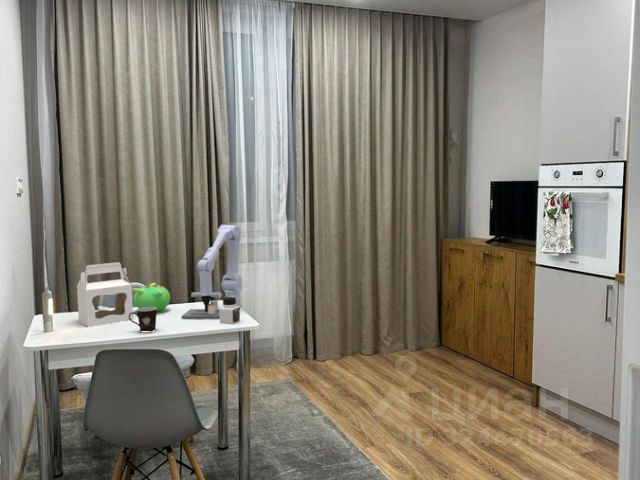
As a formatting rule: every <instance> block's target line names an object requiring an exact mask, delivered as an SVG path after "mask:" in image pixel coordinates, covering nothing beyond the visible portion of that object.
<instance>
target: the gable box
mask: <svg viewBox="0 0 640 480" xmlns="http://www.w3.org/2000/svg"><path fill="white" fill-rule="evenodd" d="M84 270H85V271H82V272H80V277H79V281H78V284H77V285H76V293H77V308H78V309H77V310H78V312H77V313H78V322H79V323H80V322H81V323H80V324H82V323H83V324H82V325H84V324H85V325H86V327H87V326H91V327H94V326H93V325H97V326H101V325H100V324H103V325H107V324H106V323H109V324H114V323H113V322H115V323H120V321H121V322H125V321H131V320H132V321H134V314H131V315H130V319H131V320H130V319H129V314H130V313H132V312H134V309H133V308H134V307H133V290H132V289H133V285H132V283H131V281H130V278H129V277H128V274H127V268H126V267H124V268H123V267H122V264H121V262H119V261H117V262H108V263H107V262H105V263H98V264H96V263H95V264H86V266H85V269H84ZM118 272H119V274H120V278H118V279H117V278H116V279H108V280H102V281H101V280H100V281H92V282H88V276H91V275H100V274H109V273H118ZM103 295H104V296H105V295H106V296H107V295H109V296H112V295H113V296H114V295H116V297H115V300H114V305H115V308H114V309H112V310H109V309H100V310H97V311H96V309H95V306H94V304H93V299H94V298H95V297H98V296H103ZM85 325H84V326H85Z"/></svg>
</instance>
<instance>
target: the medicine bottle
mask: <svg viewBox="0 0 640 480" xmlns="http://www.w3.org/2000/svg"><path fill="white" fill-rule="evenodd" d="M222 305H223V306H222V307H220V308H219V309H220V319H219V323H220V324H227V323H232V324H231V325H234V324H235V323H239V322H240V320H241V315H240V314H241V312H240V309H241V308H240V307H239V306H236V298H235V297H232V296H228V297H225V296H224V297H223V298H222ZM233 323H234V324H233Z"/></svg>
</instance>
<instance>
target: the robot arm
mask: <svg viewBox="0 0 640 480" xmlns="http://www.w3.org/2000/svg"><path fill="white" fill-rule="evenodd" d="M241 233H242V232H241V228H240V226H239V225H237V224H234V225H233V224H220V226H219V227H218V229H217V236H216V238H215V240H214V243H213V245H212V246H211V247H208V249H207V251H206V253H205V254H204V255H203V258H202V259H200V260H199V261H198V262H197V263H196V264H197V265H196V268H197V271H198V274H199V287H200V289H199V291H195V292H191V294H190V295H191V298H196V297H197V298H201V301H202V303H203V305H204V309H205V312H208V304H210V302H211V301H212V300H211V299H212V298H221V297H222V292H219V291H217V292H216V291H213V275H212V274H213V270H214V269H215V263H216V260H217V258H218V257H219V255H220V251H219V250H220V249H221V248H222V246H223V245H224V243H225V242H226V241H227V243H228V253H227V254H228V255H227V256H228V257H227V269H226V273H225V274H224V275H223V276H222V281H221V283H220V285H221V289H222V291H223V292H224V295H225V296H224V297H228V296H232V297H235V298H236V306H239V307H240V309H241V308H242V307H243V305H242V304H241V296H240V293H241V290H242V289H243V282H242V277H241V275H239V274H238V270H239V268H238V267H239V256H240V255H239V254H240V253H239V252H240V241H241Z"/></svg>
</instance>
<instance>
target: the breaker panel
mask: <svg viewBox="0 0 640 480" xmlns="http://www.w3.org/2000/svg"><path fill="white" fill-rule="evenodd" d="M181 320H220V308H218V310H217V311H216V313H215V314H208V312H205V308H191V309H189V310H188V311H186V312H185V313H183V314H182V315H181Z"/></svg>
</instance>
